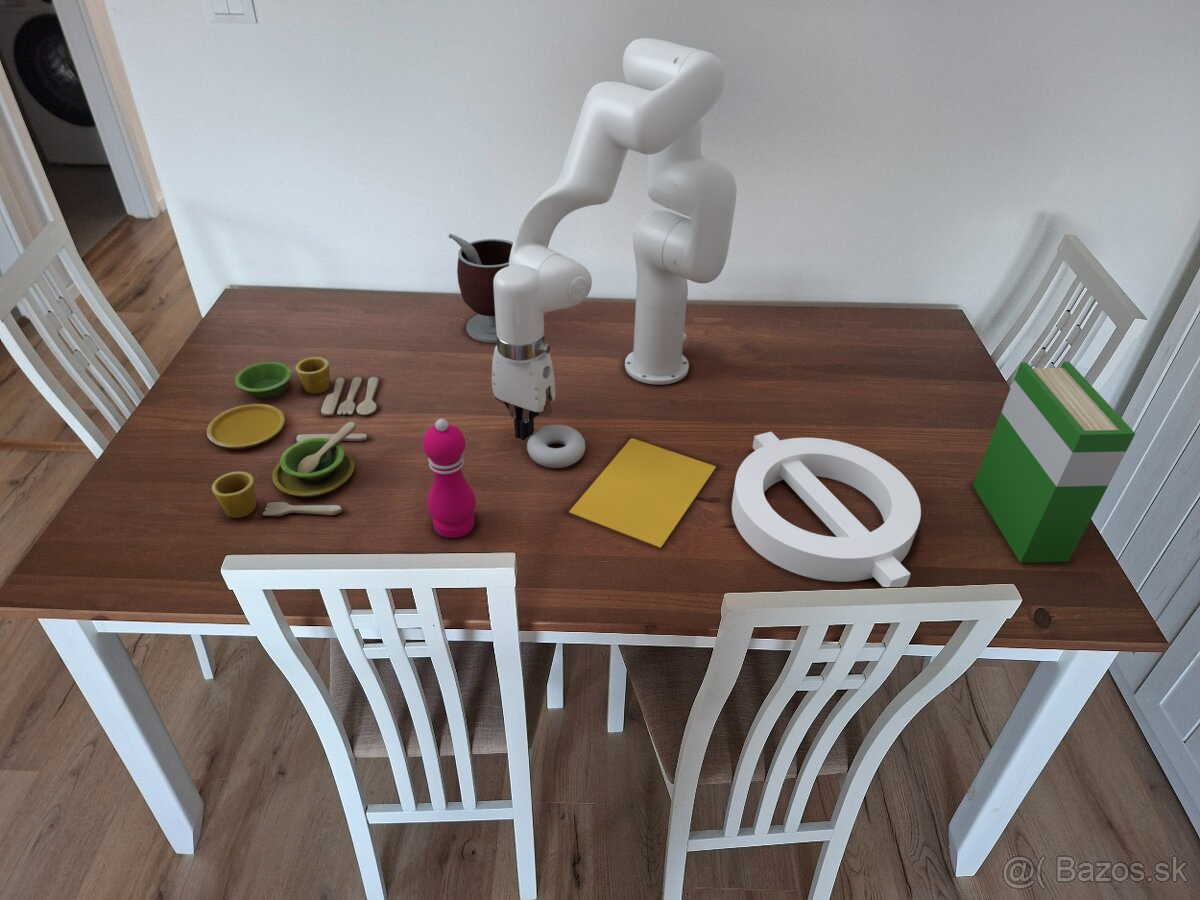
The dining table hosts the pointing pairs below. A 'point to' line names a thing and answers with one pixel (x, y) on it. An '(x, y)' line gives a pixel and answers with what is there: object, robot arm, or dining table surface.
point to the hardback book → (1050, 461)
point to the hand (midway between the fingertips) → (524, 435)
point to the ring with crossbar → (826, 510)
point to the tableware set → (306, 463)
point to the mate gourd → (481, 282)
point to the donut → (556, 456)
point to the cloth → (644, 492)
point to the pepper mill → (448, 481)
